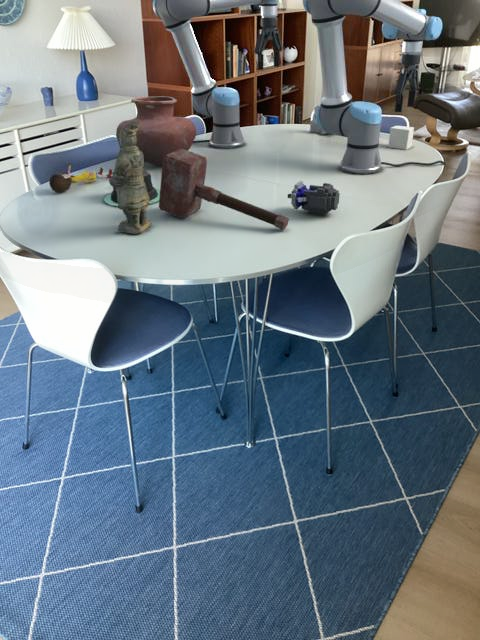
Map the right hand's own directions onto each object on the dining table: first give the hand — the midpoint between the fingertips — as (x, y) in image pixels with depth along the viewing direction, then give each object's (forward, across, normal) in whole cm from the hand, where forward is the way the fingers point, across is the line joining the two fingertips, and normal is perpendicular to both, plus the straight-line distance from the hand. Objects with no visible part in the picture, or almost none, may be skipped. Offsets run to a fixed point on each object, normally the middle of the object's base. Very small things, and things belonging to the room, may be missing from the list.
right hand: (404, 109), depth 232 cm
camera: (+16, -7, -41) cm, 44 cm away
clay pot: (+15, +76, -71) cm, 105 cm away
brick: (+16, 0, 0) cm, 16 cm away
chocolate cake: (+15, +113, -48) cm, 123 cm away
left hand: (-13, 0, -68) cm, 70 cm away
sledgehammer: (+15, +114, -9) cm, 115 cm away
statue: (+15, +134, -27) cm, 137 cm away
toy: (+15, +94, +10) cm, 95 cm away
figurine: (+15, +113, -74) cm, 136 cm away
